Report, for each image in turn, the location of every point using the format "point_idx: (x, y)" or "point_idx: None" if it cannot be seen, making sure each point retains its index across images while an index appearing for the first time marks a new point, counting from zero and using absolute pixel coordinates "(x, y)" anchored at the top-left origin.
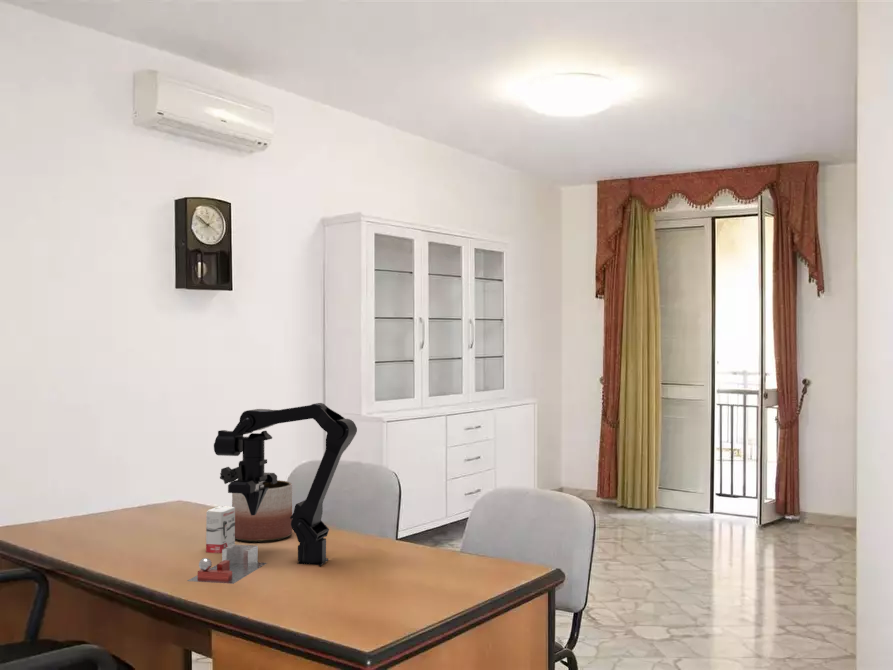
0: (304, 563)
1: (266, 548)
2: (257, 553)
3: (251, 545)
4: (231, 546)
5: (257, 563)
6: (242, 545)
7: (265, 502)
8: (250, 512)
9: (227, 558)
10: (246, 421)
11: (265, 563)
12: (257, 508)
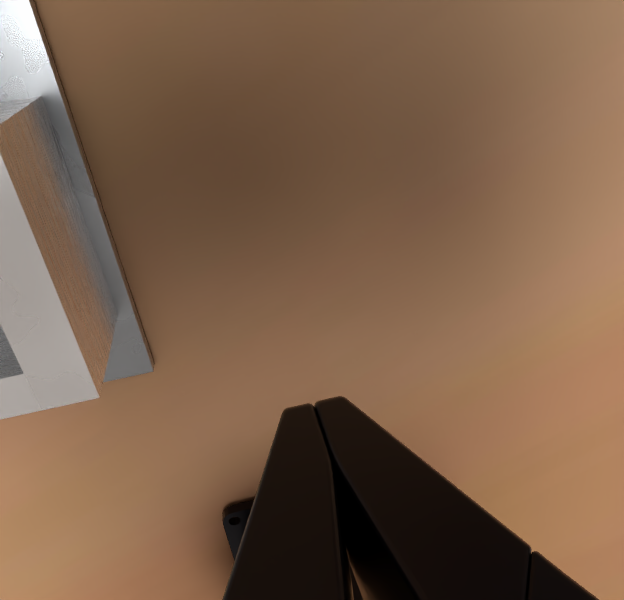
0: (234, 546)
1: (621, 58)
2: (106, 355)
3: (66, 351)
4: None
5: None
6: (11, 273)
7: None
8: (272, 447)
9: None
10: None
11: (132, 370)
12: (363, 590)
